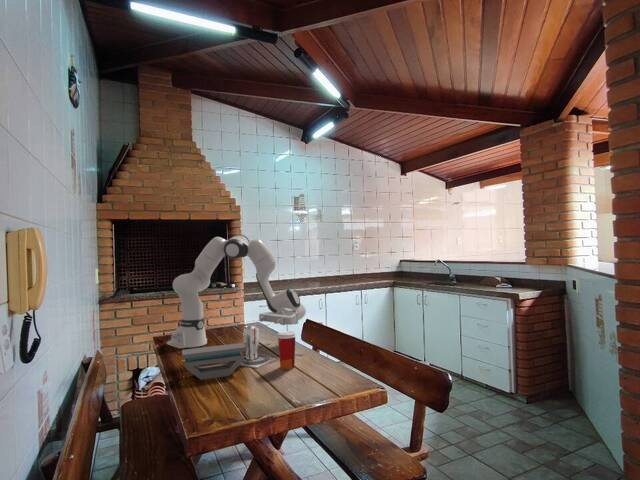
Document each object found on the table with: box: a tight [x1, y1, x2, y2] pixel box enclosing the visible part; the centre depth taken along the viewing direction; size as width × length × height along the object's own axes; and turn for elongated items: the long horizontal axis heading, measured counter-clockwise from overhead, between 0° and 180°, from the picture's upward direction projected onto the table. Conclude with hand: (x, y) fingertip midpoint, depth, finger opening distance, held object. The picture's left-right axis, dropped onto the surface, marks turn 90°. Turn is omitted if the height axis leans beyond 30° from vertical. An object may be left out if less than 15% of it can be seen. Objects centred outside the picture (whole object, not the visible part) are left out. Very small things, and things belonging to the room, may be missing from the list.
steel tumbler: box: [243, 325, 260, 361], centre depth 176 cm, size 7×7×15 cm
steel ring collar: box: [242, 353, 270, 365], centre depth 175 cm, size 12×12×1 cm
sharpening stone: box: [181, 342, 246, 381], centre depth 159 cm, size 25×8×11 cm, turn 112°
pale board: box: [239, 356, 278, 369], centre depth 175 cm, size 14×14×1 cm
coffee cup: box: [277, 330, 297, 371], centre depth 166 cm, size 8×8×15 cm
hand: (268, 320), depth 188 cm, fingers open, 8 cm apart
